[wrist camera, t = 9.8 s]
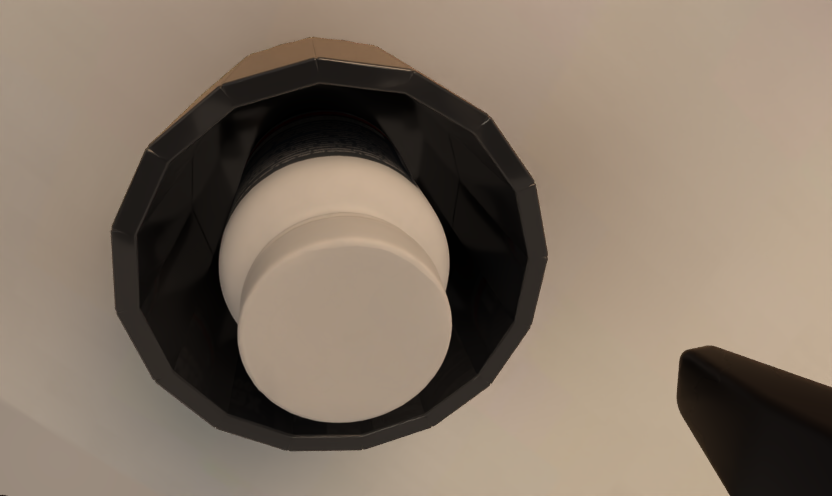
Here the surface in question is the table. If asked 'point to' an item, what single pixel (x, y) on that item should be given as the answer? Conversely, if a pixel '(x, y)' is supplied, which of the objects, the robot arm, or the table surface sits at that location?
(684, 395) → the robot arm
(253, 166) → the pill bottle
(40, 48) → the table surface
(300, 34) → the table surface
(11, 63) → the table surface
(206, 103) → the pen holder
